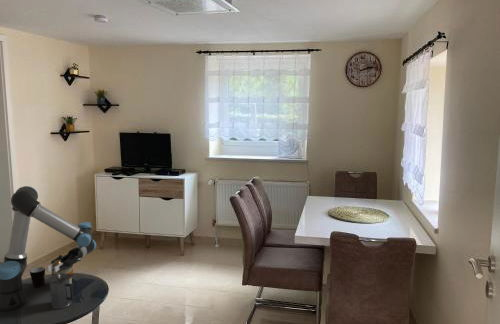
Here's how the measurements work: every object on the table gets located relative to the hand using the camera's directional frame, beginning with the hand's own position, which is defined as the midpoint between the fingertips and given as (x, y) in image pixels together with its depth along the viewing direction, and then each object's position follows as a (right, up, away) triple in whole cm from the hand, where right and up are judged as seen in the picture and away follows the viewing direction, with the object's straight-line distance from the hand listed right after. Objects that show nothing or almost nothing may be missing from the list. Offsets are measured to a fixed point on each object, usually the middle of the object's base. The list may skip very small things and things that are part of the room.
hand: (51, 269), depth 223 cm
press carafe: (+3, -22, +9) cm, 24 cm away
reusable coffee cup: (-8, -19, +33) cm, 39 cm away
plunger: (+1, -18, +8) cm, 20 cm away
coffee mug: (-24, -18, +36) cm, 47 cm away
